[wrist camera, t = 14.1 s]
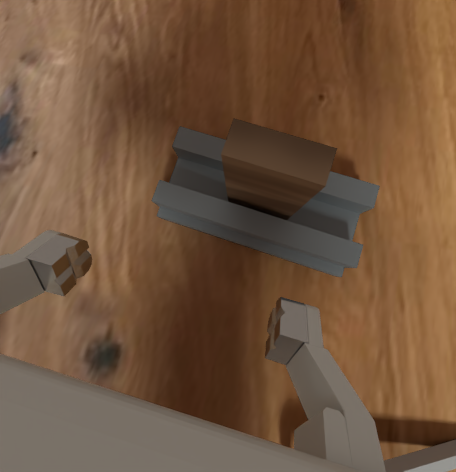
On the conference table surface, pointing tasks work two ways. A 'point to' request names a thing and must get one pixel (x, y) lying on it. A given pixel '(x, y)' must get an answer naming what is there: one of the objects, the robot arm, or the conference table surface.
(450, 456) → the caliper
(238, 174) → the wooden picture frame
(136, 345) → the conference table surface
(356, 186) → the picture ledge
